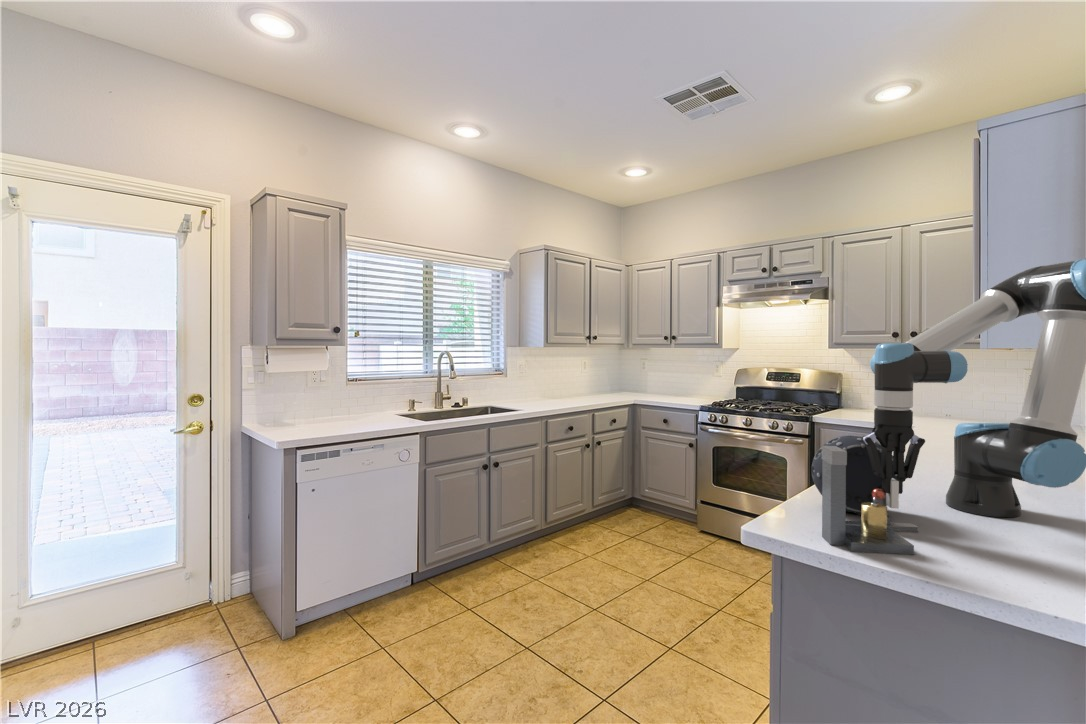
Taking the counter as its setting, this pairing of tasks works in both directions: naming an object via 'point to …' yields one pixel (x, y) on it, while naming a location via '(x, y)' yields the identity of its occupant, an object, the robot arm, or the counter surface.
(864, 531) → the cylinder
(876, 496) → the lever
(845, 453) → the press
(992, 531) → the counter surface
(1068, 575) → the counter surface
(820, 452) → the dark studded drum
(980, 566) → the counter surface
